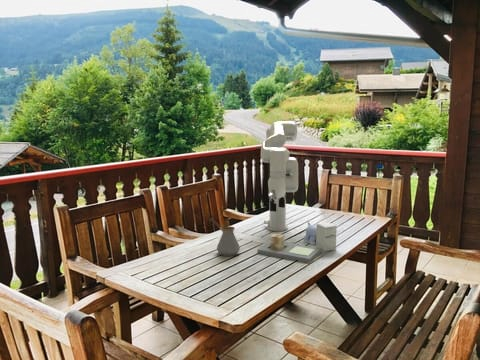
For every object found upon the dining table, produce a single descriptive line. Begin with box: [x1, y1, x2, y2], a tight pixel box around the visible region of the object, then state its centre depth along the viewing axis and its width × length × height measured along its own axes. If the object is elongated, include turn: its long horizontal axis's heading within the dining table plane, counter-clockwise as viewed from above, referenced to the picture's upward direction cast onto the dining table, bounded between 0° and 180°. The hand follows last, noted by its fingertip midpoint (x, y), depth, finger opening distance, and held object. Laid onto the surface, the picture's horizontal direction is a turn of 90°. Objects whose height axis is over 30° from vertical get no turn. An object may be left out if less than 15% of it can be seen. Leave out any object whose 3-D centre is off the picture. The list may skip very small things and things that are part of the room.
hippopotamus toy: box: [302, 221, 317, 245], centre depth 220 cm, size 11×15×10 cm
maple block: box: [270, 233, 285, 251], centre depth 206 cm, size 5×5×8 cm
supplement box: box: [315, 222, 337, 252], centre depth 208 cm, size 7×7×13 cm
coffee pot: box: [210, 217, 241, 257], centre depth 207 cm, size 21×12×15 cm, turn 36°
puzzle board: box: [256, 240, 322, 264], centre depth 203 cm, size 27×16×2 cm, turn 60°
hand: (277, 209), depth 203 cm, fingers open, 9 cm apart
